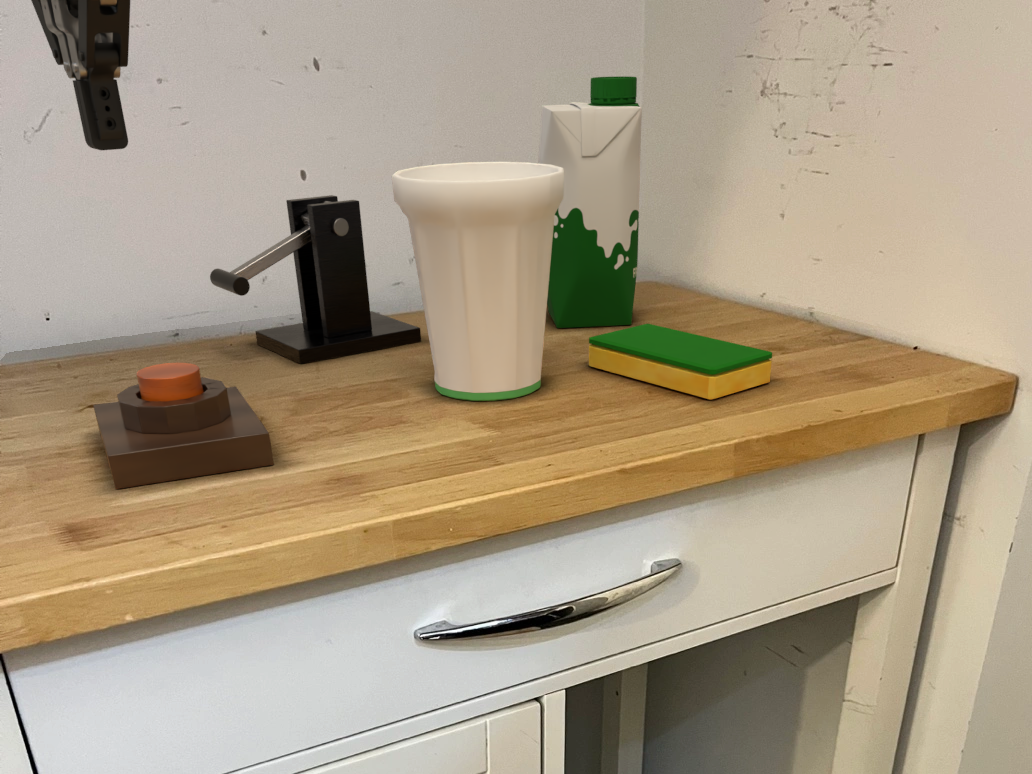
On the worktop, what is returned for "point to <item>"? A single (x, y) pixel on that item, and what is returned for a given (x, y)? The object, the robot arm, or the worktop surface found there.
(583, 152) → the milk carton
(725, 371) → the dish sponge
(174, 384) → the button
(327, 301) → the bracket
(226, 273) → the lever
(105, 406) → the button box
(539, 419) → the worktop surface
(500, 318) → the cup
